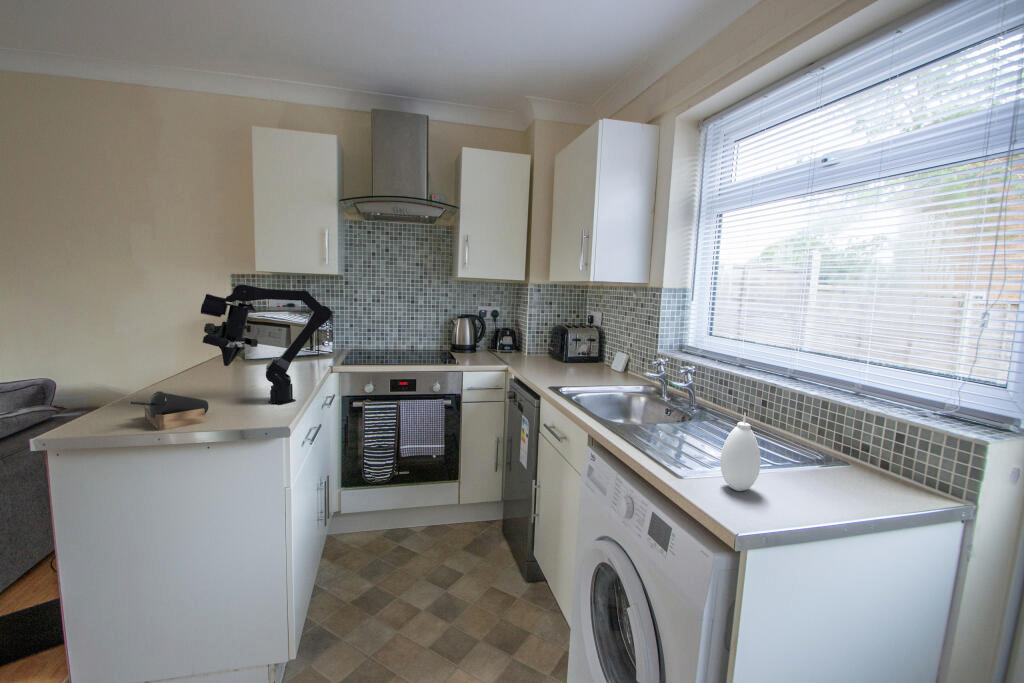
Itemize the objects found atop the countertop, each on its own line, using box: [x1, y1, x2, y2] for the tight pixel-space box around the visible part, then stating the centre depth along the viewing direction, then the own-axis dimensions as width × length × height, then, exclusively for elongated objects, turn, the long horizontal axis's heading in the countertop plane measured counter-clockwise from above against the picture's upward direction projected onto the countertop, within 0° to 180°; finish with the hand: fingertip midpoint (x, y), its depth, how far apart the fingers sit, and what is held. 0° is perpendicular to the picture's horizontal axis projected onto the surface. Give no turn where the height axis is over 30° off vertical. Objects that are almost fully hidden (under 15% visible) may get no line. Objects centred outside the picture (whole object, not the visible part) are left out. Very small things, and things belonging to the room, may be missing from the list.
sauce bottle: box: [719, 411, 762, 492], centre depth 100 cm, size 8×8×18 cm
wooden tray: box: [143, 405, 206, 431], centre depth 135 cm, size 11×15×4 cm
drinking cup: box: [130, 390, 209, 418], centre depth 133 cm, size 8×8×20 cm
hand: (226, 365), depth 150 cm, fingers closed
